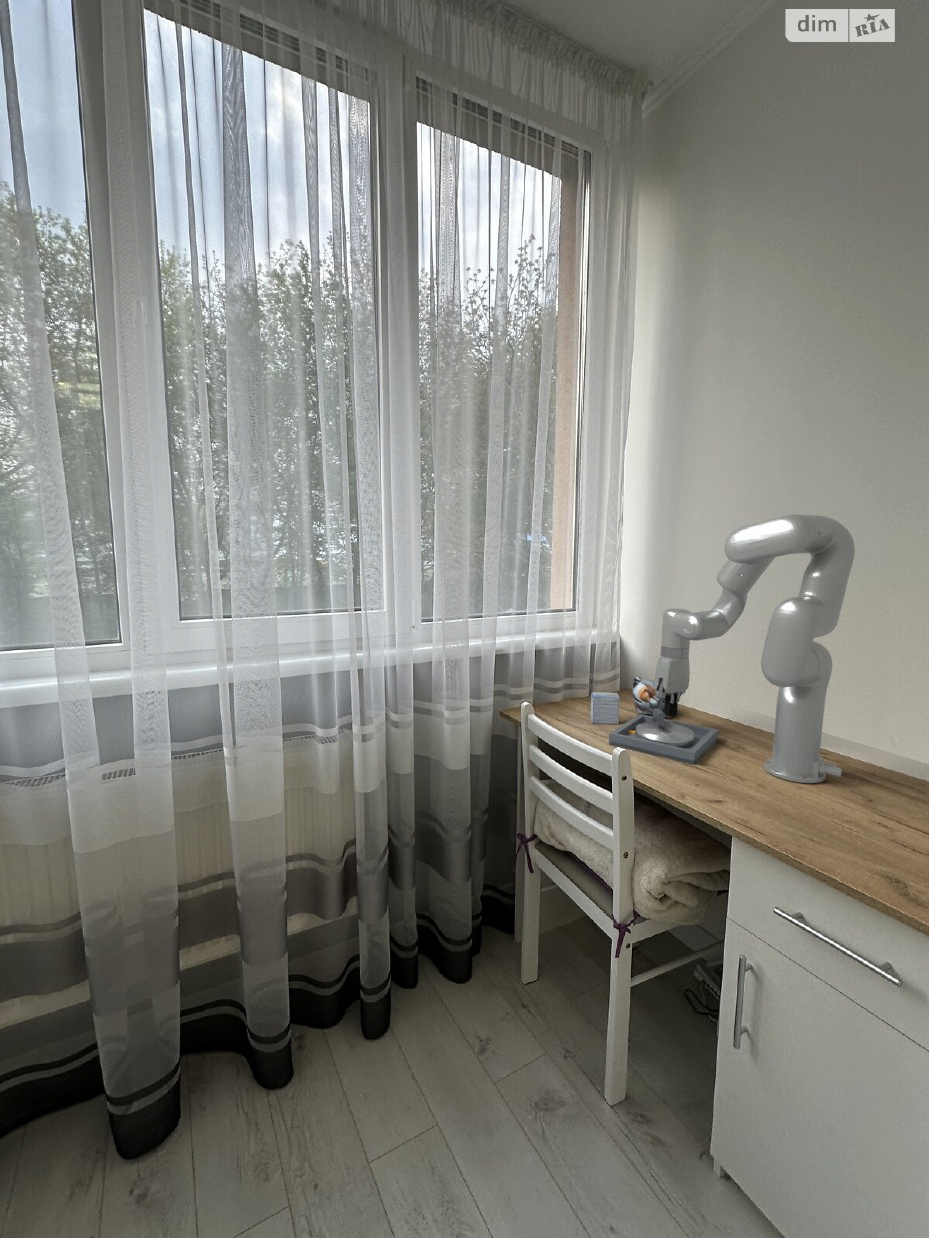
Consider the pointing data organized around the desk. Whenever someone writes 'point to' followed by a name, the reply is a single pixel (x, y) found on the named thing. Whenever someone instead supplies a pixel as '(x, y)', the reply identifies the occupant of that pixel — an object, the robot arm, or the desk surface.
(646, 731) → the dial
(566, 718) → the desk surface
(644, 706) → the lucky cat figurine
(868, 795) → the desk surface
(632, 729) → the square tray
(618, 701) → the medicine box
